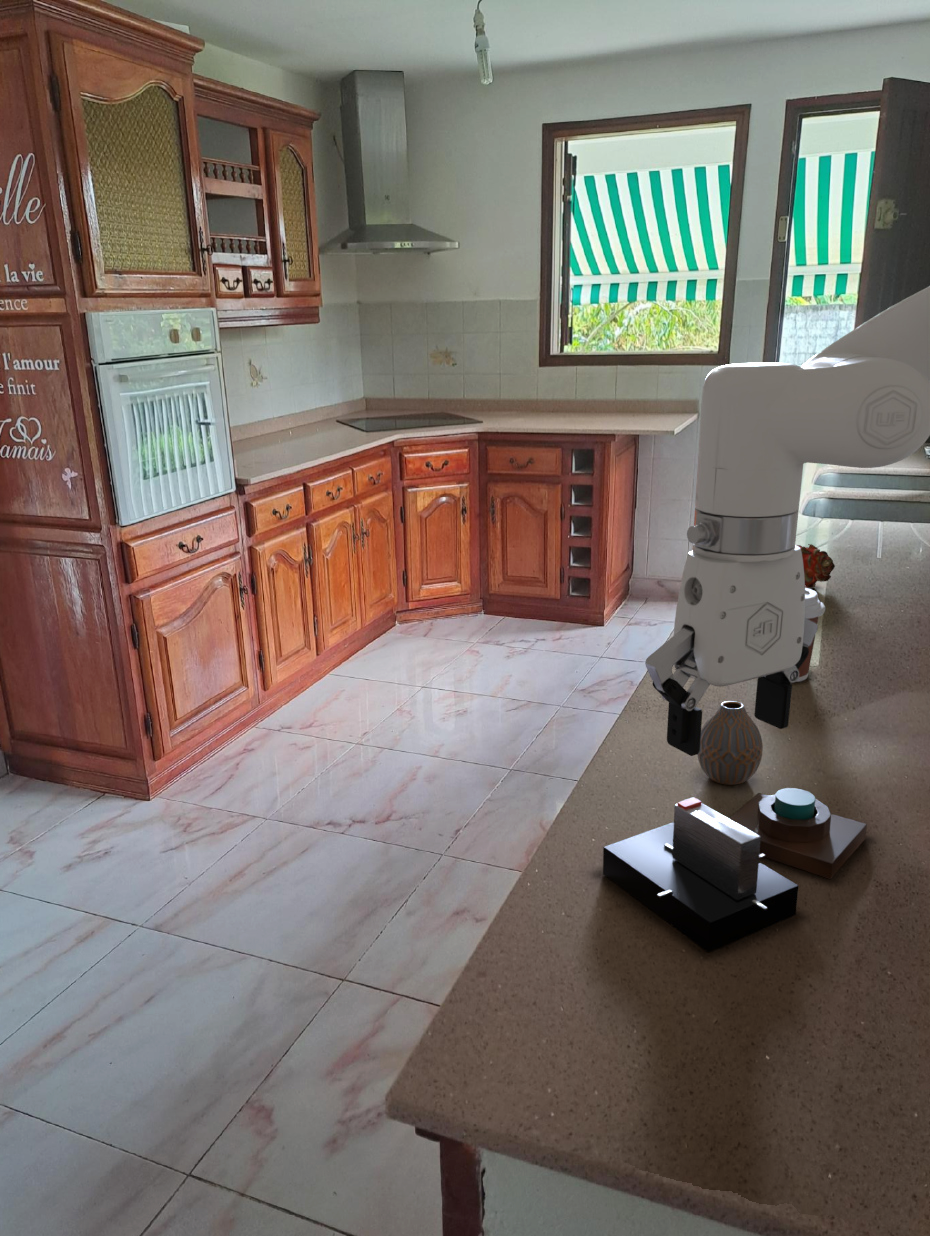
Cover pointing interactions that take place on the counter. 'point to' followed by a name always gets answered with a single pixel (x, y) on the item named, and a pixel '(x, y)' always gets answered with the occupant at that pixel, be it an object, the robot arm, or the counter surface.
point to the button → (794, 804)
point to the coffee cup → (812, 613)
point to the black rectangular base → (695, 891)
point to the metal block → (716, 848)
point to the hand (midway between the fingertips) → (727, 735)
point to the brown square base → (802, 836)
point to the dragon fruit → (816, 565)
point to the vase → (730, 745)
